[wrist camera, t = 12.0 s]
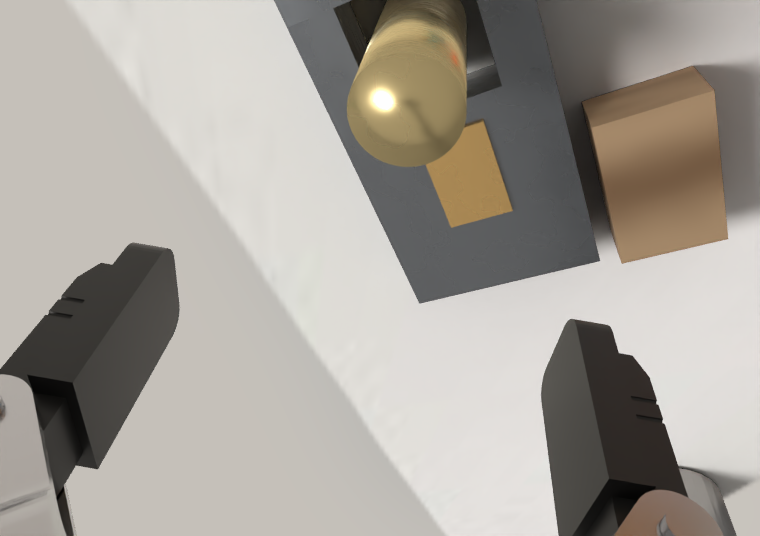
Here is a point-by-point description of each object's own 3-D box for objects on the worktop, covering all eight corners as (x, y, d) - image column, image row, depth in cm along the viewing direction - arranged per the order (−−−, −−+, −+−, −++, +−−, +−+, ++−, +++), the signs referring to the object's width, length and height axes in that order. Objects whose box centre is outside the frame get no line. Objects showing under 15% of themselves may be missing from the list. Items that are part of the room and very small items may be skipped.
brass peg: (477, 51, 28) (481, 146, 20) (399, 80, 29) (374, 180, 22) (450, -36, 26) (443, 33, 18) (366, -1, 27) (326, 78, 19)
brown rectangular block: (708, 206, 32) (728, 238, 29) (610, 231, 33) (621, 263, 31) (693, 65, 27) (714, 90, 25) (581, 101, 29) (591, 127, 27)
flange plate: (590, 228, 33) (600, 263, 31) (422, 271, 36) (419, 305, 34) (495, -157, 23) (499, -153, 21) (274, -52, 26) (254, -37, 24)
